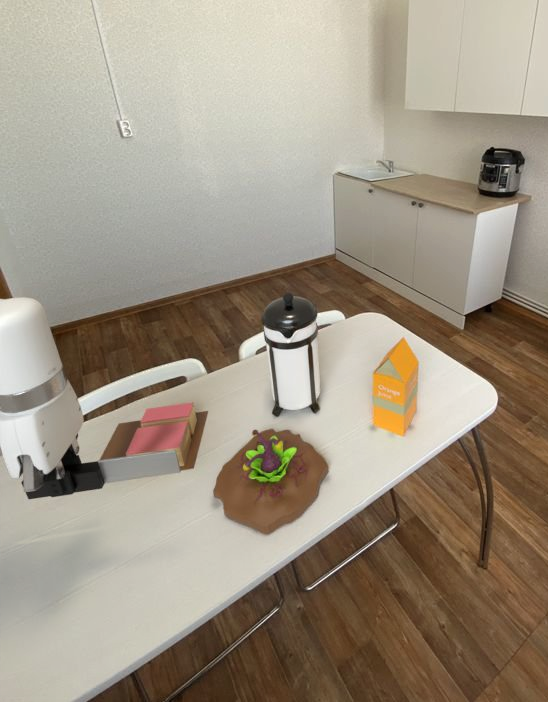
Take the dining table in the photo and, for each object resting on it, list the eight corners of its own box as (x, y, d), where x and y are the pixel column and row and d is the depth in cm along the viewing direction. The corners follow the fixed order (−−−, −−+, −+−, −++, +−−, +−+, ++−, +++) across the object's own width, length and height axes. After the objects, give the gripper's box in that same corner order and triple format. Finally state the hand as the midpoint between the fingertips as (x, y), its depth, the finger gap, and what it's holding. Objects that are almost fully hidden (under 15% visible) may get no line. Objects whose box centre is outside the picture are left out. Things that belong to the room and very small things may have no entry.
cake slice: (145, 441, 84) (140, 422, 82) (151, 427, 88) (146, 408, 86) (193, 434, 86) (189, 415, 84) (197, 421, 89) (193, 402, 88)
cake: (86, 489, 75) (77, 465, 72) (119, 426, 89) (113, 404, 87) (194, 472, 78) (189, 448, 76) (209, 413, 93) (204, 392, 91)
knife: (28, 499, 56) (18, 477, 55) (36, 487, 58) (27, 465, 57) (178, 477, 60) (173, 455, 58) (182, 466, 62) (177, 445, 60)
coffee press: (341, 395, 98) (337, 290, 87) (291, 432, 87) (279, 317, 77) (299, 366, 109) (291, 270, 99) (250, 396, 98) (235, 291, 88)
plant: (273, 556, 63) (266, 508, 59) (199, 496, 73) (189, 452, 69) (342, 465, 79) (340, 423, 75) (273, 426, 89) (269, 387, 85)
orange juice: (416, 410, 93) (420, 340, 86) (403, 437, 85) (406, 362, 78) (387, 400, 96) (388, 332, 89) (372, 424, 89) (371, 352, 82)
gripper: (36, 354, 58) (69, 445, 65) (-49, 438, 44) (4, 545, 50) (90, 349, 60) (117, 439, 66) (24, 429, 45) (67, 535, 51)
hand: (68, 484), depth 58 cm, fingers closed on knife, 2 cm apart
